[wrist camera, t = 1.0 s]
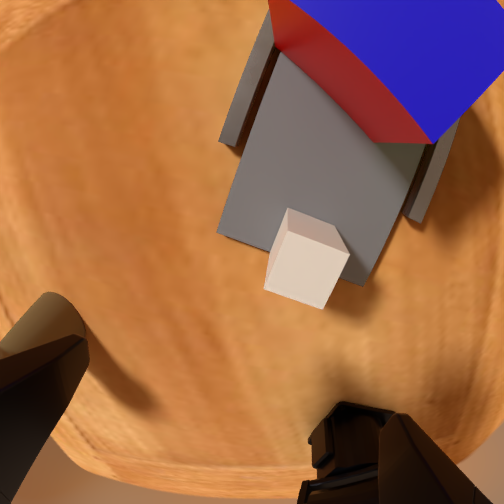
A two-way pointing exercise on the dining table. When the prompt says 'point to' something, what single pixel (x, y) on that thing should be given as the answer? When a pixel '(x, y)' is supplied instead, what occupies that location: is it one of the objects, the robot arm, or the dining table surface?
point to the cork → (42, 325)
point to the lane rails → (248, 93)
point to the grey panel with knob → (314, 189)
